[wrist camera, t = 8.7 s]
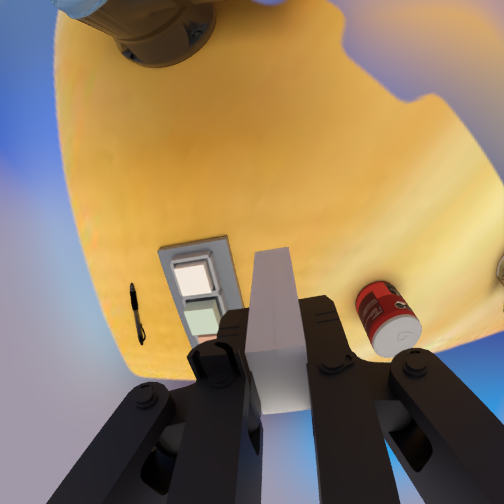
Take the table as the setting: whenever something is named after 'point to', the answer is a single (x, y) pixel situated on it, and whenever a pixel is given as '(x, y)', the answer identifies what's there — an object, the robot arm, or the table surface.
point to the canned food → (387, 319)
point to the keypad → (221, 271)
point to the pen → (136, 314)
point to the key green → (202, 317)
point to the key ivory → (194, 277)
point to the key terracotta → (206, 337)
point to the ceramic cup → (501, 271)
